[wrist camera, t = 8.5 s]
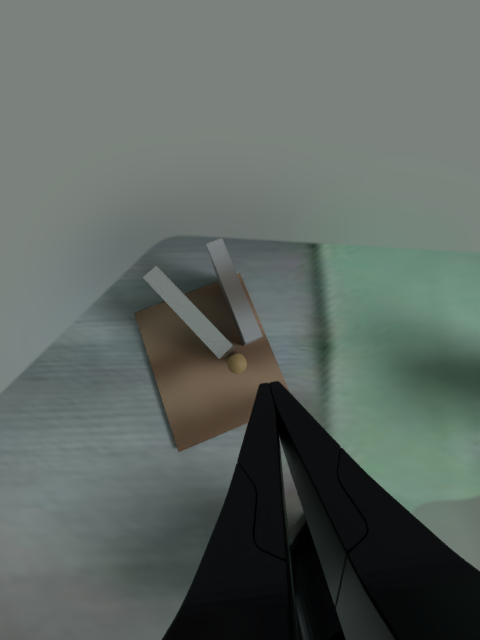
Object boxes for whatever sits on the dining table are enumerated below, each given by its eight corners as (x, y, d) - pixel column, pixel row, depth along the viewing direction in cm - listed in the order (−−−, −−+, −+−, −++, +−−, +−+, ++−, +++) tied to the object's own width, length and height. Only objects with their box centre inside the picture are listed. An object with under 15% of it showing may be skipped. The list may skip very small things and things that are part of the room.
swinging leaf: (235, 347, 20) (232, 345, 12) (227, 355, 20) (219, 358, 12) (186, 296, 21) (156, 265, 13) (177, 303, 21) (142, 277, 13)
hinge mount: (292, 401, 20) (331, 439, 11) (180, 448, 19) (132, 526, 11) (239, 275, 22) (238, 227, 13) (137, 314, 21) (69, 289, 13)
